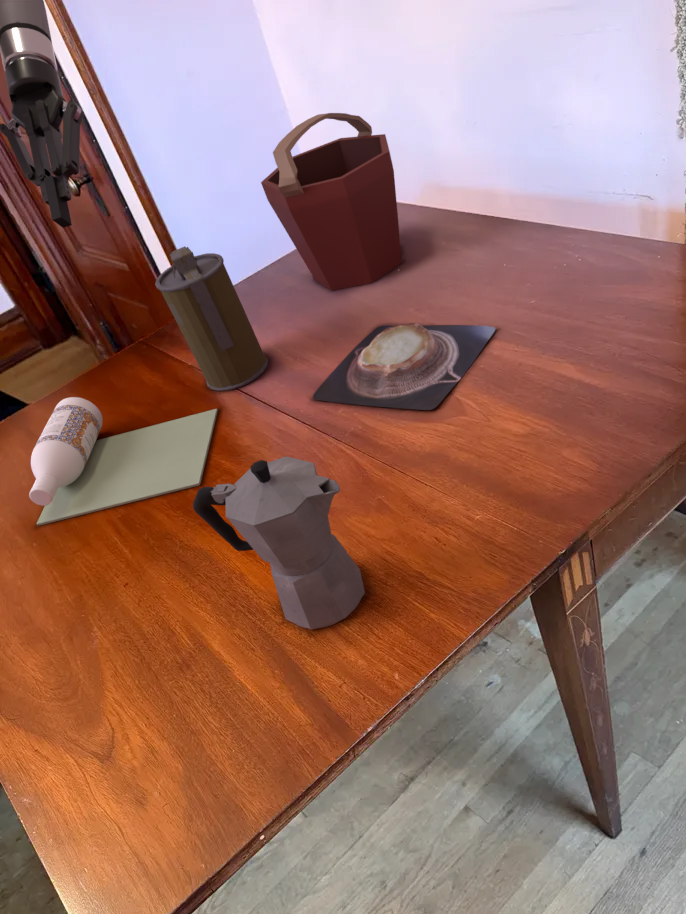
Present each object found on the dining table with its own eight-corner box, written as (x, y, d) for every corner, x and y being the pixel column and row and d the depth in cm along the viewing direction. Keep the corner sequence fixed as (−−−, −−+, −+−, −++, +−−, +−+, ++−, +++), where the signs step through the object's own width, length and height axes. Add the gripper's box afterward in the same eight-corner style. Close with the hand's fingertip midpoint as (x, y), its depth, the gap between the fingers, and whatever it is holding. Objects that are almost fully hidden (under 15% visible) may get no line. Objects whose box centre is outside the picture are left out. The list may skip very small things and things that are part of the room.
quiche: (498, 329, 108) (493, 304, 105) (434, 413, 97) (427, 387, 94) (379, 325, 118) (371, 302, 116) (309, 400, 107) (299, 377, 105)
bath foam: (107, 434, 117) (73, 518, 102) (61, 433, 116) (20, 516, 102) (99, 396, 112) (61, 478, 98) (51, 394, 112) (6, 476, 97)
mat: (37, 526, 102) (36, 524, 102) (73, 448, 115) (72, 446, 115) (200, 485, 99) (198, 483, 99) (218, 410, 112) (216, 408, 112)
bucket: (344, 310, 125) (290, 155, 109) (272, 289, 140) (215, 149, 123) (444, 243, 134) (409, 90, 118) (367, 230, 149) (326, 92, 132)
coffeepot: (393, 560, 79) (339, 424, 67) (373, 631, 73) (310, 495, 61) (264, 565, 84) (192, 439, 72) (235, 632, 78) (151, 506, 66)
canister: (201, 373, 123) (141, 257, 109) (259, 346, 124) (206, 229, 111) (214, 401, 115) (152, 279, 101) (276, 372, 116) (222, 249, 103)
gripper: (85, 75, 116) (115, 221, 114) (9, 101, 117) (38, 244, 116) (55, 43, 108) (87, 198, 107) (-25, 70, 110) (6, 223, 109)
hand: (62, 222), depth 112 cm, fingers closed
